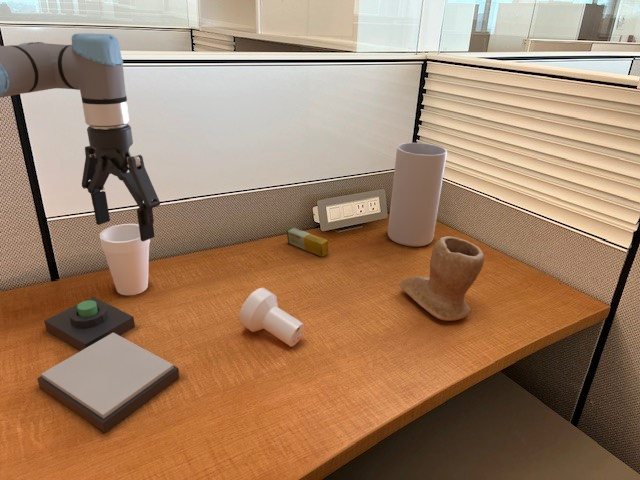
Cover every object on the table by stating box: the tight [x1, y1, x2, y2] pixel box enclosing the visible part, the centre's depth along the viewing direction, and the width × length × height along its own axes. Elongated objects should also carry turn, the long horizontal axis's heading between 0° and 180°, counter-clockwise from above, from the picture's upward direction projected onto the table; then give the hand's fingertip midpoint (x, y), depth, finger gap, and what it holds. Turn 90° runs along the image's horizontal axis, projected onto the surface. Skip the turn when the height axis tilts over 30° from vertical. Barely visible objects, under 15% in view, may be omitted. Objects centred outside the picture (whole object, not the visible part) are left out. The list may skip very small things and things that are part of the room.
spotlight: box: [238, 287, 306, 347], centre depth 89 cm, size 8×11×8 cm
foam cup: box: [99, 223, 151, 296], centre depth 100 cm, size 10×9×13 cm
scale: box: [36, 333, 180, 434], centre depth 76 cm, size 16×14×3 cm
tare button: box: [76, 299, 98, 317], centre depth 87 cm, size 3×3×2 cm
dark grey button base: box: [44, 296, 136, 352], centre depth 88 cm, size 12×10×4 cm
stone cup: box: [398, 235, 485, 322], centre depth 99 cm, size 15×12×15 cm
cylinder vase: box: [387, 142, 448, 248], centre depth 127 cm, size 12×12×25 cm
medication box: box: [286, 226, 329, 258], centre depth 122 cm, size 12×3×4 cm, turn 50°
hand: (124, 230), depth 97 cm, fingers open, 13 cm apart
